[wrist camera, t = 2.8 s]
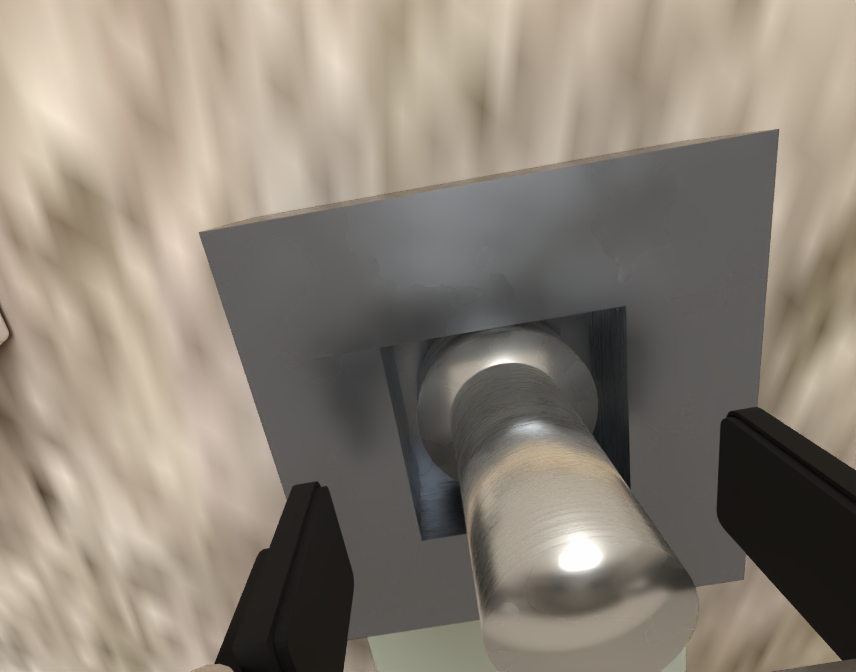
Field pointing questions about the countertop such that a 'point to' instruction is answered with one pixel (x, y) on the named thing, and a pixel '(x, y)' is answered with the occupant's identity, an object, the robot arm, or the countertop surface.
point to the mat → (447, 650)
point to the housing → (496, 307)
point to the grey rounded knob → (548, 510)
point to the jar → (3, 330)
